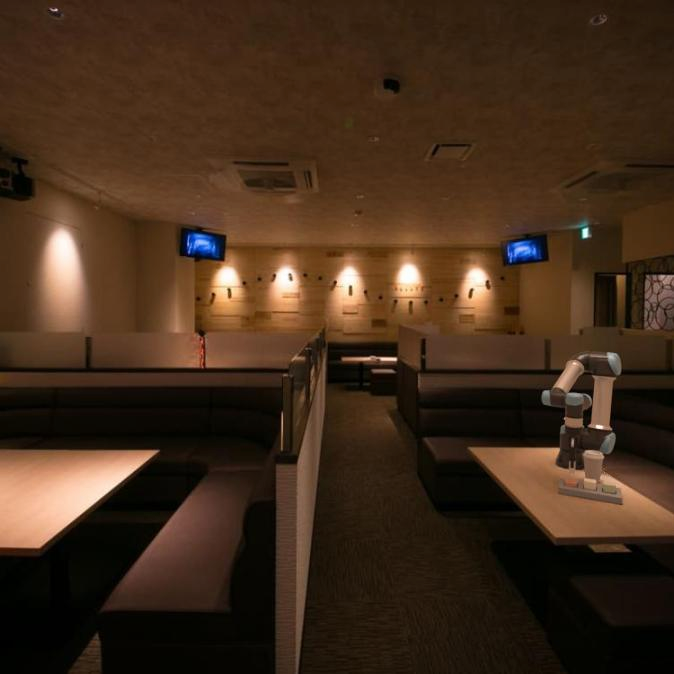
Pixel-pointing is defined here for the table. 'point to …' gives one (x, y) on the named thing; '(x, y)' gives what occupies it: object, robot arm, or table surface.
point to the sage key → (609, 487)
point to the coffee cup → (593, 464)
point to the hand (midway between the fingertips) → (571, 473)
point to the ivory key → (589, 484)
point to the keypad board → (590, 492)
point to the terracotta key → (571, 483)
